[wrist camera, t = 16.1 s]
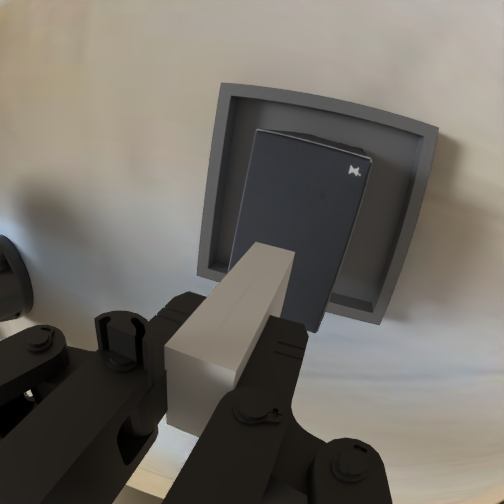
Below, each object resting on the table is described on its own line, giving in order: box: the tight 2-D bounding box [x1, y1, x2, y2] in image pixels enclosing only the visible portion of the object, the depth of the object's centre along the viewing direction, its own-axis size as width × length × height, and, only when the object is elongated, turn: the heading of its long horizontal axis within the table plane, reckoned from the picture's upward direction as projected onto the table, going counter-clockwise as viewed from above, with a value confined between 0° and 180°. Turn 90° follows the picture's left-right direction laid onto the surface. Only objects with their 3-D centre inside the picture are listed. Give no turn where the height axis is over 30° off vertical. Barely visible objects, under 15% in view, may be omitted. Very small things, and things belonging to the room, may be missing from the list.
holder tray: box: [197, 83, 439, 325], centre depth 25 cm, size 17×17×2 cm
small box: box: [227, 128, 373, 333], centre depth 21 cm, size 11×6×10 cm, turn 168°
